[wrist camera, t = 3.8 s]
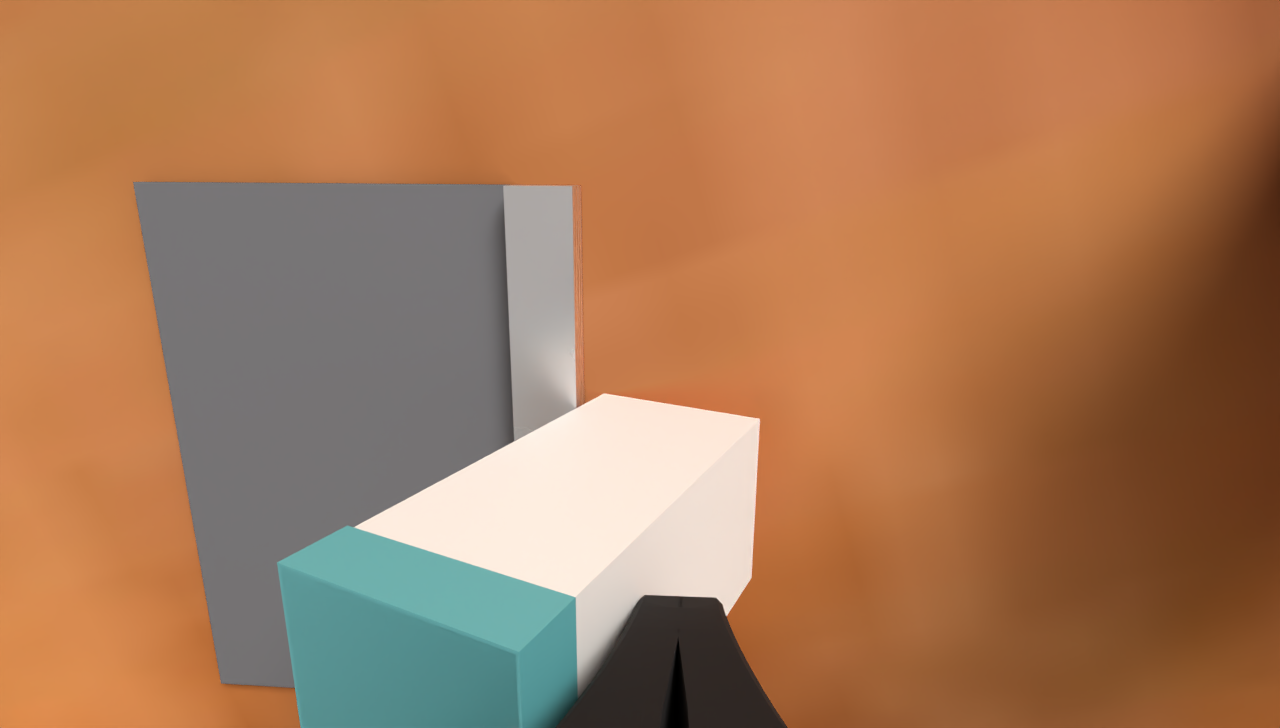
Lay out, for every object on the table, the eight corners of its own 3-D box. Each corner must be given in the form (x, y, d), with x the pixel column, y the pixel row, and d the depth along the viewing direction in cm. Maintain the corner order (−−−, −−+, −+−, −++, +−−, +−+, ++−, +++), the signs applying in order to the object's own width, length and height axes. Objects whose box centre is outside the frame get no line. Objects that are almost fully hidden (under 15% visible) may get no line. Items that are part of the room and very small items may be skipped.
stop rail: (580, 185, 16) (572, 186, 15) (588, 698, 20) (582, 730, 19) (516, 185, 16) (503, 185, 15) (536, 694, 20) (526, 726, 19)
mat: (510, 184, 16) (506, 185, 16) (530, 694, 20) (528, 701, 20) (143, 182, 17) (133, 182, 17) (227, 676, 21) (221, 683, 20)
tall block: (762, 416, 16) (519, 652, 8) (753, 580, 17) (531, 927, 9) (602, 391, 18) (276, 562, 10) (603, 540, 19) (311, 800, 11)
